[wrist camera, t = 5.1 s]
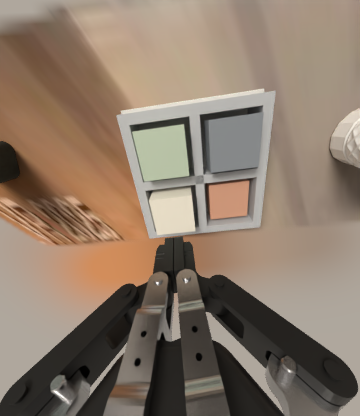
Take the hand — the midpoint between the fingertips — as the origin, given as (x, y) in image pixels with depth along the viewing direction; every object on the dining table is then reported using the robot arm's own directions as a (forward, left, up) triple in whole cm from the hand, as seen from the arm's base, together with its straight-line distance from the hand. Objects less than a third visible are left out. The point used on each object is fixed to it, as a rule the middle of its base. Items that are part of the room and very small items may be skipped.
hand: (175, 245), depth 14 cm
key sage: (-4, -6, -9) cm, 11 cm away
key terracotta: (-5, +4, -11) cm, 13 cm away
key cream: (+1, 0, -9) cm, 9 cm away
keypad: (-4, -1, -12) cm, 13 cm away
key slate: (-9, -2, -9) cm, 13 cm away
